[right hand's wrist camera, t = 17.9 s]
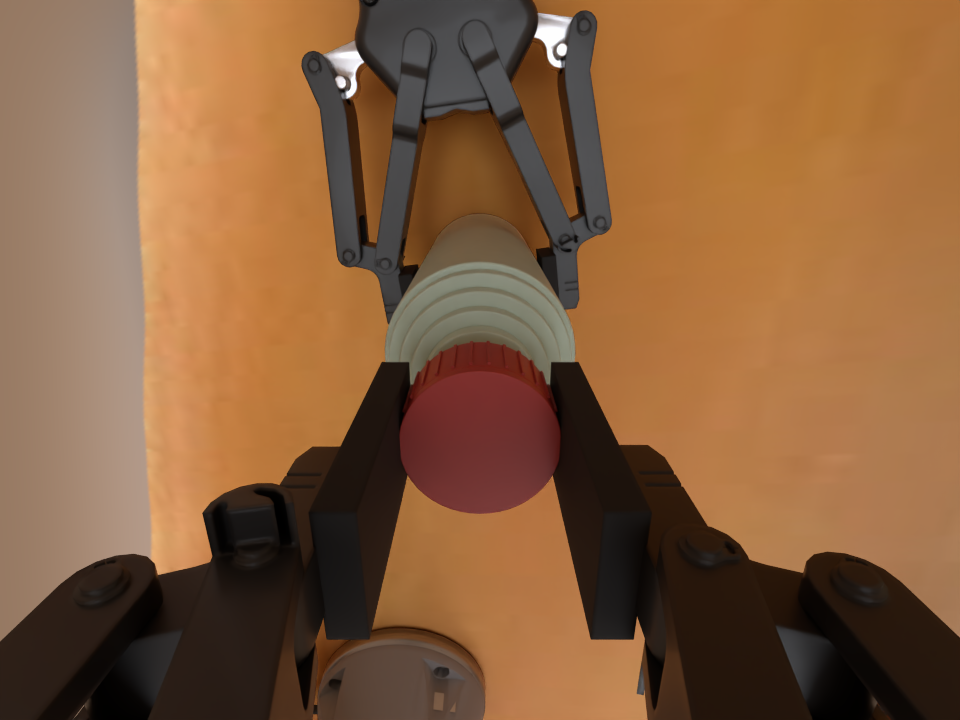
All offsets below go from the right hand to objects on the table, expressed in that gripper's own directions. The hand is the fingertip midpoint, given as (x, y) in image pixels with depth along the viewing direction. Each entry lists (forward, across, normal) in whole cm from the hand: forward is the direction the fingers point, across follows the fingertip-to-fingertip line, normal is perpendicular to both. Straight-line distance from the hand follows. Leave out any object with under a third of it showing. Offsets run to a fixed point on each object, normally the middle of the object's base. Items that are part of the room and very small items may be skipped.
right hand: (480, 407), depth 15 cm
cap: (-2, 0, 0) cm, 2 cm away
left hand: (+15, +1, -5) cm, 16 cm away
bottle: (+21, 0, 0) cm, 21 cm away
